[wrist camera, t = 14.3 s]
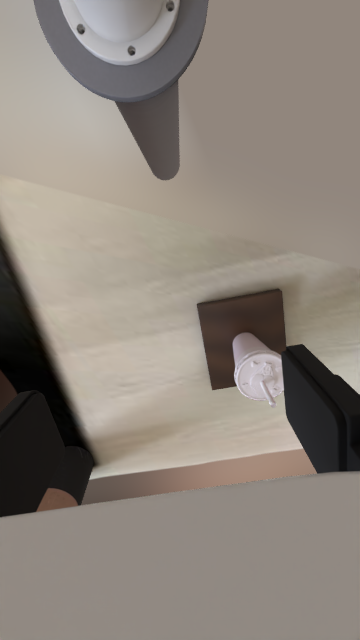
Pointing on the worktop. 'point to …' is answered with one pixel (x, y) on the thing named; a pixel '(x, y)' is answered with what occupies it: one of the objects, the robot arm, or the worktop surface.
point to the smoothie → (257, 369)
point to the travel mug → (68, 480)
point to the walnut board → (239, 330)
